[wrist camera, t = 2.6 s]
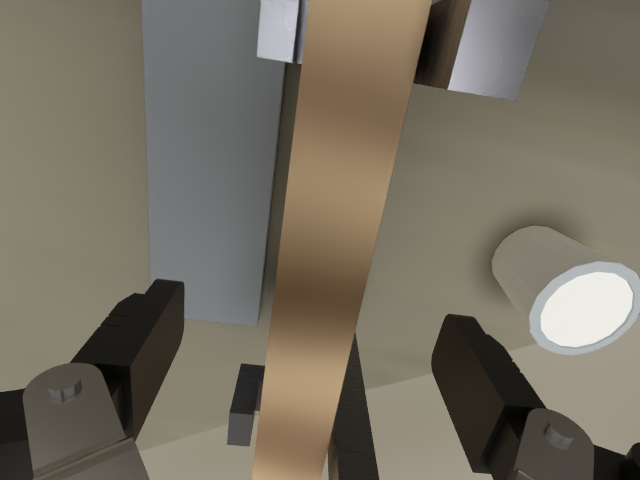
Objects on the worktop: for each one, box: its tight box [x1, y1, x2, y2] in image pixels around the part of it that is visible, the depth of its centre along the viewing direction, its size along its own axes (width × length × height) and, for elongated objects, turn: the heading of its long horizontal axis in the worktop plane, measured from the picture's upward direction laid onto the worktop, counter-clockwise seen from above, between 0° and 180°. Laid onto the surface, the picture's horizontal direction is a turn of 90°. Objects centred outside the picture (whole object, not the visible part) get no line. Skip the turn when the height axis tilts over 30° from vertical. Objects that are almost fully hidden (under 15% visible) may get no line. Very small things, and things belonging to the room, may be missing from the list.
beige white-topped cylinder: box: [492, 226, 640, 355], centre depth 27 cm, size 7×7×7 cm
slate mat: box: [141, 0, 286, 327], centre depth 25 cm, size 24×8×2 cm, turn 171°
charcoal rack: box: [227, 0, 550, 480], centre depth 19 cm, size 19×6×17 cm, turn 171°
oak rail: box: [252, 0, 432, 480], centre depth 14 cm, size 23×3×3 cm, turn 171°
